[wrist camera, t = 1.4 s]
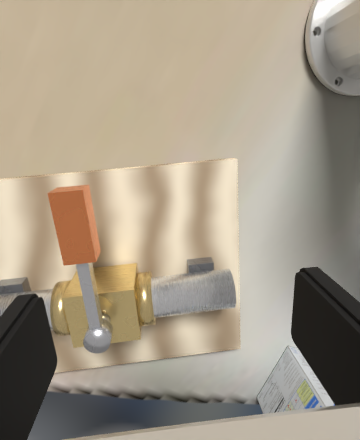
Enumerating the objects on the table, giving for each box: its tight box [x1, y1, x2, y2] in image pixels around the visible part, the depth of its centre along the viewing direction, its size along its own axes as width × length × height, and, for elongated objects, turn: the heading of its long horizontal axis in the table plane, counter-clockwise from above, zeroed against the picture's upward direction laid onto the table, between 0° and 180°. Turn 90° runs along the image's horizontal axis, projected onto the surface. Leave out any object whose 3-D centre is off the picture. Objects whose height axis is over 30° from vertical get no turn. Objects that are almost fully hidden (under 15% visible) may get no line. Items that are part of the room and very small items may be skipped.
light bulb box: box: [257, 346, 335, 414], centre depth 39 cm, size 11×7×11 cm, turn 158°
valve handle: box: [47, 185, 113, 353], centre depth 25 cm, size 3×15×2 cm, turn 5°
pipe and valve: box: [0, 257, 236, 348], centre depth 31 cm, size 30×6×8 cm, turn 95°
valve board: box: [0, 158, 240, 373], centre depth 36 cm, size 34×26×2 cm
